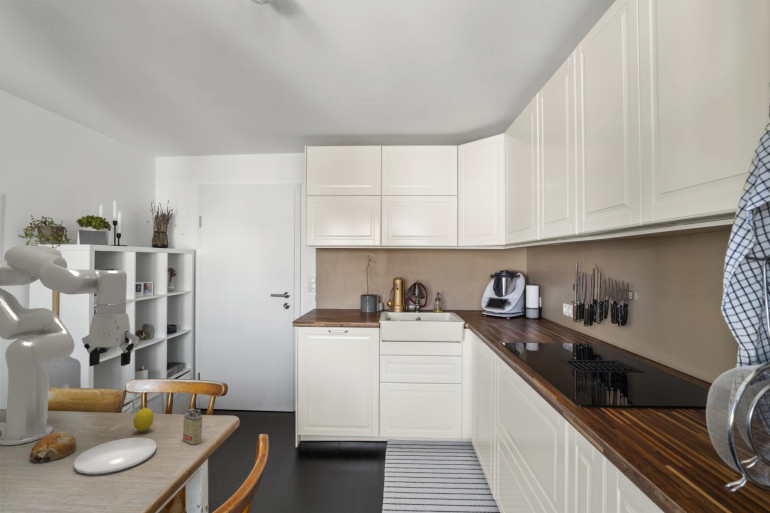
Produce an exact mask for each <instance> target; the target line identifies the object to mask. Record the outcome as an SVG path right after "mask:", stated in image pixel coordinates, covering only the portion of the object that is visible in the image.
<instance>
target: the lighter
mask: <svg viewBox="0 0 770 513" xmlns="http://www.w3.org/2000/svg"><path fill="white" fill-rule="evenodd" d="M182 429H183V430H182V441H183V442H185V443H187V444H189V445H199V444H200V443H202V442H203V440H202V439H203V438H202V437H203V436H202V432H203V416H202V414H201V409H195V408H194V407H190V408H187V409H186V413H185V414H184V416H183V428H182Z"/></svg>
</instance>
